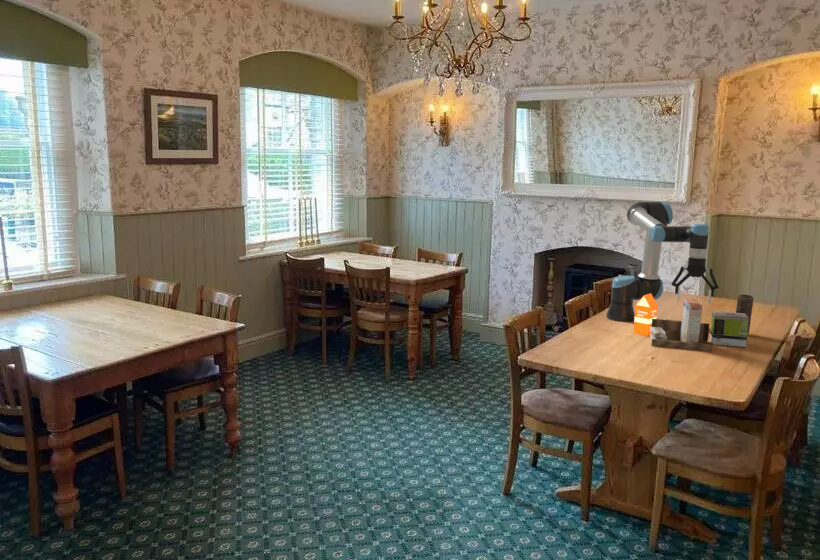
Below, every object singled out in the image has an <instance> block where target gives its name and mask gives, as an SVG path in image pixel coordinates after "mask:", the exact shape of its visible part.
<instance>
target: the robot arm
mask: <svg viewBox="0 0 820 560" xmlns="http://www.w3.org/2000/svg"><path fill="white" fill-rule="evenodd" d="M626 218H627V220H628V221H629V222H630V223H631V224H632V225H633V226H638V227H639V228H641V229H642V230H643V231H645V240H644V248H643V254H642V263H641V270H640V272H639V273H638V274H637V277H636V278H635V276H634V275H620V276H615V277H614V278H613V279H612V284H611V294H610V295H611V296H610V305H609V307H608V309H607V312H606V318H607V319H608V318H609V319H608V320H611V319H612V321H616V320H618V321H617V322H631V321H632V320H633V321H634V319H635V309H634V306H633V305H634V301H640V299H641V298H642V297H643V296H644V295H647V294H650V293H651V295H652V296H653V298H654V300H655V301H656V300H658V299H659V298H661V296H662V294H663V292H664V282H663V280H662V279H661V276H660V275H659V268H660V267H659V265H660V260H661V259H660V258H661V251H662V243H689V250H688V251H689V252H688V260H687V261H688V262H687V267H685V266H680V268H679V271H678V272H677V275H676V276H675V278H674V279H673V280H672V282H671V287H672V286H673V287H674V288H675V289H674V294H675V295H677V296H676V301H677V302H680V294H681V293H680V291H681V285H682V284H683V283H684V282H685V281H687V280H688V278H690V277H692V278H702V279H703V280H704V281H705V282H706V284H707V285H708V286H709V289H708V294H707V295H708V296H707V304H709V305H710V304H711V299H712V298H711V297H714V293H715V290H718V289H719V285H718V283H717V281H716V279H715V276H714V273H713V268H712V267H710V268H706V266H707V265H706V264H707V258H706V257H707V249H708V241H709V235H710V234H709V232H710V229H709V227H710V226H709V225H708V224H703V223H692V225H682V226H681V225H679V226H675V225H674V226H673V225H672V226H671V223H672V222H673V220H674V219H673V218H674V213H673V208H672V205H670V204H669V203H668V202H664V201H638V202H635V203H633V204H632V205H630V207H629V208H628V209H627V213H626ZM669 225H670V226H669ZM685 271H686V272H687V273H686V275H684V276H683V277H682V278H681V279H680V280H679V278H680V277H681V276H682V275H683V273H684V272H685ZM706 272H707V274H709V276H710V278H711V281H712V283H713V284H712V283H711V282H710V281H709V279H708V278H707V277H706V276H705V275H704V274H705V273H706ZM678 280H679V281H678ZM633 321H632V322H633Z"/></svg>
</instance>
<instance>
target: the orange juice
mask: <svg viewBox="0 0 820 560" xmlns="http://www.w3.org/2000/svg"><path fill="white" fill-rule="evenodd" d="M634 313H635V319H634V320H633V334H635V333H638V334H637V335H641V334H642V335H641V336H646V335H647V337H648V335H649V336H650V335H651V332H650V327H652V319H657V313H658V304H657V302H656V300H654V298H653V296H652V295H651V293H650V294H647V295H644V296H643V297H642V298H641V299H640V300H638V301H637V303H636V304H635V309H634Z"/></svg>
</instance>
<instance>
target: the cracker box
mask: <svg viewBox="0 0 820 560" xmlns="http://www.w3.org/2000/svg"><path fill="white" fill-rule="evenodd" d="M682 305H683V306H682V307H683V308H682V315H681V316H682V318H681V321H682V324H681V333H680V340H679V341H680V342H690V343H699V332H700V323H702V322H701V321H702V313H703V305H702V304H701V303H700V302H699V301H698V300H697V299H694V298H693V299H690V298H684V299H683V304H682Z"/></svg>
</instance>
